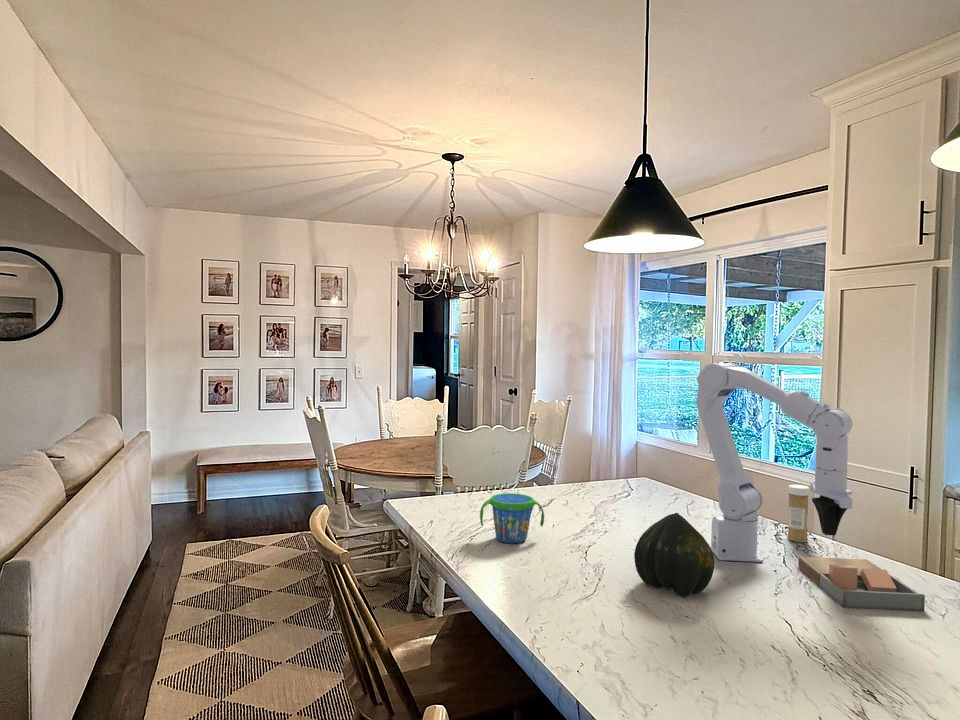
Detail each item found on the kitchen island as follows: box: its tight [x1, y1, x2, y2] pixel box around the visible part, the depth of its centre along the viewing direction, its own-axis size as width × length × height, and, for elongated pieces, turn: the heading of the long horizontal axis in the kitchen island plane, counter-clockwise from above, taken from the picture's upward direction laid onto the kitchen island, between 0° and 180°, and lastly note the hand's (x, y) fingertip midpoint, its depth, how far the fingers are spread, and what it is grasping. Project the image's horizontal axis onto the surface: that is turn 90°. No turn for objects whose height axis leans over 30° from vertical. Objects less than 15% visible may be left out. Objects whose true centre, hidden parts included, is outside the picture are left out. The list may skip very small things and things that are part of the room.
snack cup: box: [479, 492, 545, 544], centre depth 153 cm, size 16×10×10 cm
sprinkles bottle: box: [787, 484, 810, 544], centre depth 155 cm, size 5×5×13 cm
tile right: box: [860, 568, 897, 593], centre depth 123 cm, size 4×4×2 cm
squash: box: [633, 512, 715, 598], centre depth 124 cm, size 14×15×15 cm
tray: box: [819, 574, 926, 612], centre depth 120 cm, size 14×10×3 cm
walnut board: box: [798, 556, 893, 586], centre depth 131 cm, size 14×10×2 cm
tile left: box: [829, 564, 858, 591], centre depth 124 cm, size 4×4×2 cm
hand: (828, 534), depth 130 cm, fingers closed
